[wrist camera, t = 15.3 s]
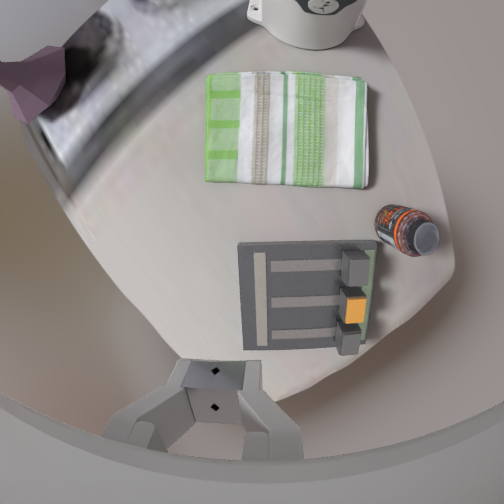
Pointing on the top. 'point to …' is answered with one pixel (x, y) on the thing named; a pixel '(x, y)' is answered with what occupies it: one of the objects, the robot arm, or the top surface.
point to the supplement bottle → (407, 230)
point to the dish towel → (287, 129)
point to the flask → (34, 82)
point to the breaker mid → (352, 305)
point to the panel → (296, 292)
